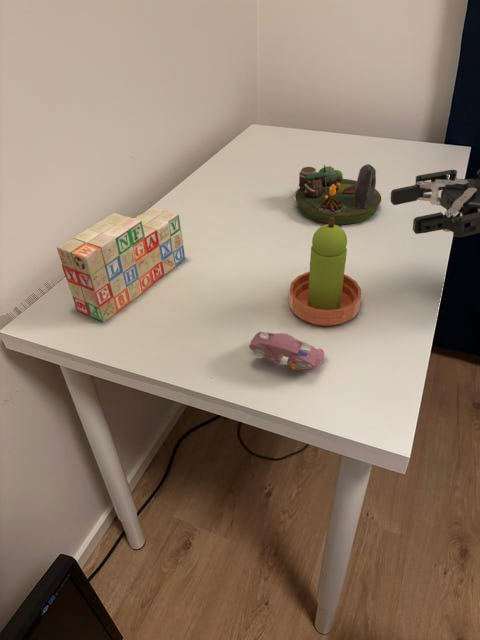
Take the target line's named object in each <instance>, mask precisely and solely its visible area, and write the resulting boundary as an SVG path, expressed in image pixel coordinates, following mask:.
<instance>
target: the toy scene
mask: <svg viewBox="0 0 480 640" xmlns="http://www.w3.org/2000/svg"><path fill="white" fill-rule="evenodd" d="M376 171H377V170H376V168H374V166H372V165H371V164H369V163H367V164H365V165H362V166H361V168H360V169H359V171H358V175H357V180H354V179H350V178H349V179H348V178H344V177H343V173H342V171H341V170H339V169H335V168H334V167H332V166H331V165H328V166H326V164H323V167H322V168H320V169H319V171H317V169H316V168H315V167H313V166H304V167H302V168H301V170H300V172H299V174H298V176H299V177H298V178H299V179H298V189H297V190H296V191H295V194H294V198H295V201H296V202H297V208H298V210H299V211H300V213H301V214H302V215H304V216H305V217H307V218H308V219H310V220H313V221H315V222H319V223H322V224H326V225H327V224H328V222H329V218H330V217H333V218H334V225H350V224H357V223H361V222H364V221H366V220H368V219H370V218H371V217H372V216H374V215H375V214H376V212H377V209H378V208H379V207H378V206H380V204H381V203H382V195H381V193H380V192H379V191H378V189H376V185H377V176H376V175H377V172H376Z"/></svg>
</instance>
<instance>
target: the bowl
mask: <svg viewBox="0 0 480 640" xmlns="http://www.w3.org/2000/svg"><path fill="white" fill-rule="evenodd" d="M309 273H310V271H307V272H304V273H302V274H299V275H297V277H295V278H294V279H293V280H292V281H291V283H290V285H289V290H288V291H289V292H288V293H289V294H288V305H289V307H290V309H291V311H292V313H293V315H296V316H297V317H298V318H299V319H300V320H302V321H305V322H306V323H309V324H312V325H314V326H315V325H316V326H322V327H323V326H324V327H328V326H329V327H331V326H337V325H340V324H344V323H346V322H348V321H350V320H352V319H354V318H355V317H356V315H357V314H358V313H359V311H360V306H361V301H362V288H361V286H360V285H359V283H358V282H357V281H356V280H355V279H353V278H352V277H350V276H349V275H348V274H345V273H344V279H343V288H342V296H341V304H340V307H339V308H338V309H334V310H323V309H315V308H312V307H310V306H309V305H308V288H309Z"/></svg>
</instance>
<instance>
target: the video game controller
mask: <svg viewBox="0 0 480 640" xmlns="http://www.w3.org/2000/svg"><path fill="white" fill-rule="evenodd" d="M248 347H249V350H251V351H253V352H254V354H255V356H256V357H258V358H263V357H264V358H265V359H267V360H268V361H270V362H273V363H276V364H280V363H281V361H282V360H283V357H285V358H287V360H286V365H287V366H288V367H290V368H291V369H292V370H304V369H307V370H313V369H315V368H318V367H320V366H321V365H322V364H323V362H324V359H325V351H324V349H323V348H316V347H315V346H313V345H311V344H309V343H306V342H304V341H302V340H299V339H297V338H295V337H294V336H292V335H290V334H288V333H282V332H280V333H276V332H275V333H273V332H268V331H264V330H263V331H258V332H256V334H255V335H254V336H253V337H252V339H251V340H250V343H249V345H248Z"/></svg>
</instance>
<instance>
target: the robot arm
mask: <svg viewBox="0 0 480 640" xmlns="http://www.w3.org/2000/svg"><path fill="white" fill-rule="evenodd" d="M457 175H458V170H457V169H447V170H441V171H437V172H435V171H434V172H431V173H424V174H419V175H416V176H415V184H414V185H413V184H412V185H409V186H408V185H407V186H403V187H399V188H395V189H392V190H391V192H390V203H391V204H392V205H393V206H398V205H403V204H407V203H413V202H417V201H425V202H429V203H430V204H431V205H432V206H440V207H442V208H444V209H446V211H445V212H444V214H443V212H441V211H440V212H435V213H429V214H425V215H421V216H420V215H419V216H416V217H414V218H413V221H412V231H413V232H414V234H416V235H420V234H426V233H427V234H428V233H432V232H437V231H443V232H448V233H449V232H452V233H453V234H452V236H453V237H455V238H460V239H461V238H464V237H468V236H472V235H477V234H480V169H479V170H478V171H477V172H476V173H475V174H474V175H473V176H472V177H471V178H458V177H457ZM440 191H441V192H440ZM439 194H440V195H439ZM469 223H470V225H469V226H467V227H465V225H466V224H469Z"/></svg>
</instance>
